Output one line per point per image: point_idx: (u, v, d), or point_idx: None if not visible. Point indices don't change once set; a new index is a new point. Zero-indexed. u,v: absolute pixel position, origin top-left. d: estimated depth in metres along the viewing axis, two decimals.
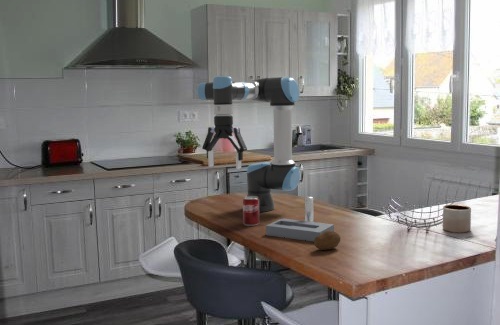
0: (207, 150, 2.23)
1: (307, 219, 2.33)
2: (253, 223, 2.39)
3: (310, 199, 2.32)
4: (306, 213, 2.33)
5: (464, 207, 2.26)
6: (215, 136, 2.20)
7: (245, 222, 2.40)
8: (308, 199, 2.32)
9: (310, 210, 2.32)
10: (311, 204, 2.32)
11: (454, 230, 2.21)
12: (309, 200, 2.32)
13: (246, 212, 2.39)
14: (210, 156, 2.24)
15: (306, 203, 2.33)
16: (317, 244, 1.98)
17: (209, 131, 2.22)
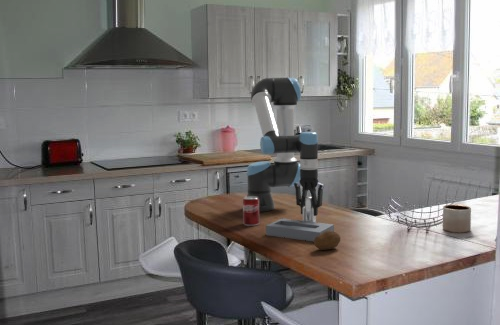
0: (302, 206, 2.34)
1: (307, 219, 2.33)
2: (253, 223, 2.39)
3: (310, 199, 2.32)
4: (306, 213, 2.33)
5: (464, 207, 2.26)
6: (303, 189, 2.33)
7: (245, 222, 2.40)
8: (308, 199, 2.32)
9: (310, 209, 2.32)
10: (311, 204, 2.32)
11: (454, 230, 2.21)
12: (309, 200, 2.32)
13: (246, 212, 2.39)
14: (304, 212, 2.35)
15: (306, 203, 2.33)
16: (317, 244, 1.98)
17: (296, 186, 2.35)
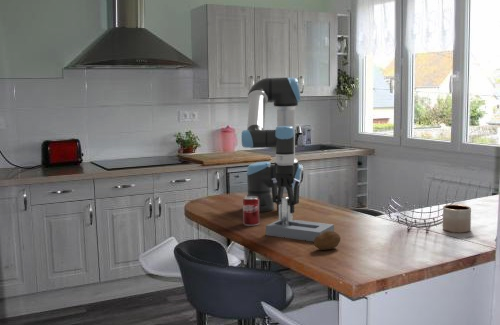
0: (278, 203, 2.25)
1: (283, 220, 2.24)
2: (253, 223, 2.39)
3: (286, 199, 2.23)
4: (282, 214, 2.24)
5: (464, 207, 2.26)
6: (279, 186, 2.23)
7: (245, 222, 2.40)
8: (284, 199, 2.23)
9: (286, 210, 2.23)
10: (287, 205, 2.23)
11: (454, 230, 2.21)
12: (285, 200, 2.23)
13: (246, 212, 2.39)
14: None
15: (282, 204, 2.24)
16: (317, 244, 1.98)
17: (272, 183, 2.26)
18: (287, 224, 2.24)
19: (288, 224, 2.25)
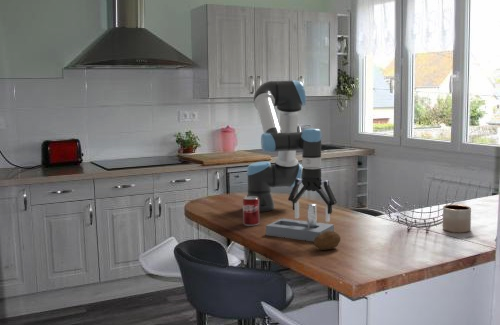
0: (293, 202, 2.21)
1: None
2: (253, 223, 2.39)
3: (313, 206, 2.17)
4: (309, 221, 2.18)
5: (464, 207, 2.26)
6: (303, 188, 2.18)
7: (245, 222, 2.40)
8: (311, 206, 2.17)
9: (313, 218, 2.18)
10: (314, 212, 2.17)
11: (454, 230, 2.21)
12: (312, 207, 2.17)
13: (246, 212, 2.39)
14: (296, 208, 2.22)
15: (309, 211, 2.18)
16: (317, 244, 1.98)
17: (296, 183, 2.20)
18: None
19: None
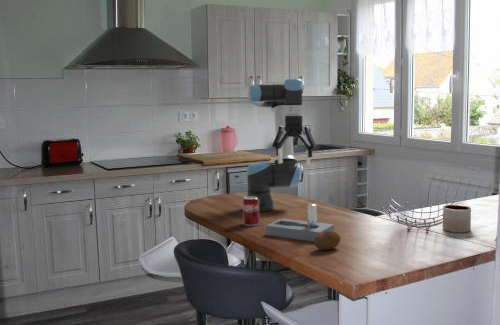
0: (277, 148, 2.40)
1: None
2: (253, 223, 2.39)
3: (313, 206, 2.17)
4: (309, 221, 2.18)
5: (464, 207, 2.26)
6: (285, 134, 2.36)
7: (245, 222, 2.40)
8: (311, 207, 2.17)
9: (313, 218, 2.18)
10: (314, 212, 2.17)
11: (454, 230, 2.21)
12: (312, 207, 2.17)
13: (246, 212, 2.39)
14: (280, 153, 2.40)
15: (309, 211, 2.18)
16: (317, 244, 1.98)
17: (279, 130, 2.38)
18: None
19: None
